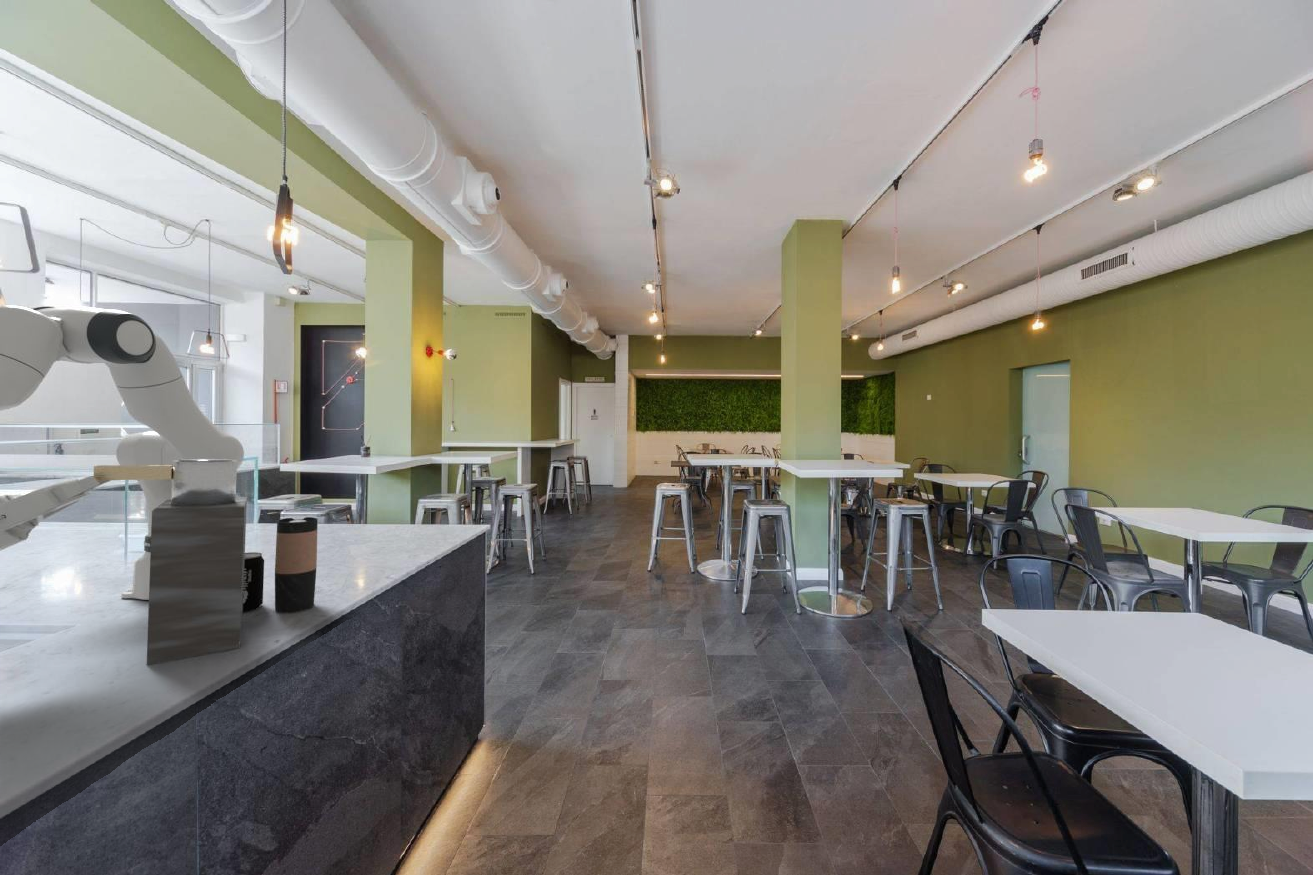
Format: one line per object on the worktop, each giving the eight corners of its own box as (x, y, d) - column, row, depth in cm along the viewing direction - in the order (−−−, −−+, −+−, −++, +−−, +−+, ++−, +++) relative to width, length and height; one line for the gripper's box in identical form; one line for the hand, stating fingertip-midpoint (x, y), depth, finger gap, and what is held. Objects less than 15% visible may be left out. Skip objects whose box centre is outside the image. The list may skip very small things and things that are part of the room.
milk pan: (101, 504, 89) (102, 458, 89) (236, 499, 100) (238, 458, 100) (87, 511, 82) (88, 461, 82) (234, 504, 93) (236, 461, 93)
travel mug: (293, 615, 108) (296, 523, 108) (264, 611, 110) (267, 521, 110) (323, 604, 115) (326, 518, 116) (296, 600, 117) (299, 516, 117)
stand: (162, 633, 96) (166, 499, 96) (242, 621, 104) (246, 497, 104) (146, 664, 84) (152, 511, 84) (239, 648, 91) (244, 506, 91)
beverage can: (269, 607, 112) (270, 554, 112) (234, 616, 106) (236, 560, 107) (252, 602, 115) (254, 550, 115) (218, 610, 109) (219, 556, 109)
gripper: (-60, 516, 69) (72, 465, 77) (2, 498, 85) (105, 458, 93) (-24, 552, 71) (101, 499, 79) (30, 528, 87) (129, 486, 95)
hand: (104, 477), depth 86 cm, fingers open, 8 cm apart
